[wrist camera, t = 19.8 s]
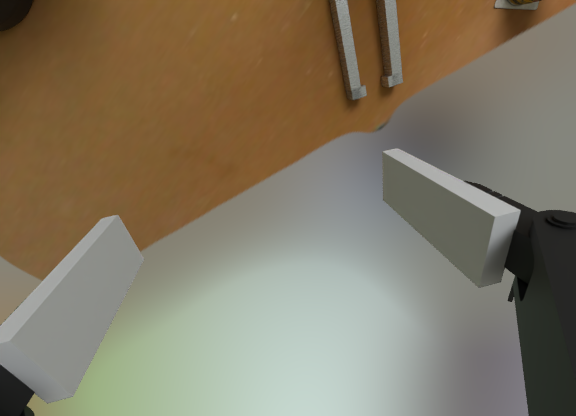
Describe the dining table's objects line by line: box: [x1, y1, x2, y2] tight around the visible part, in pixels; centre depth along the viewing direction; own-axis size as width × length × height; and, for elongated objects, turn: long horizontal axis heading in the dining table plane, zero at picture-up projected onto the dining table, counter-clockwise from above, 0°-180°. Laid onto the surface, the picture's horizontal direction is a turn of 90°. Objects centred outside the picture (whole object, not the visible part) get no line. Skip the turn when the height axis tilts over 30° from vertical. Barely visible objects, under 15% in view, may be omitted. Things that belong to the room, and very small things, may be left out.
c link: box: [329, 0, 403, 100], centre depth 37 cm, size 8×2×18 cm
